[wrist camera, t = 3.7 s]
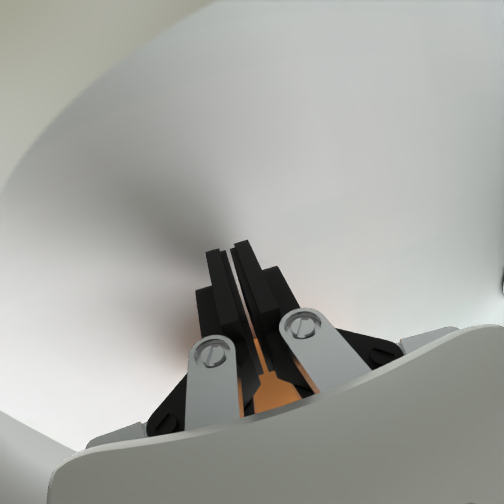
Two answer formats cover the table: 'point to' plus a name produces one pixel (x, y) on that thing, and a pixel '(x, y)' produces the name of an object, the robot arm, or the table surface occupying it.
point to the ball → (271, 388)
